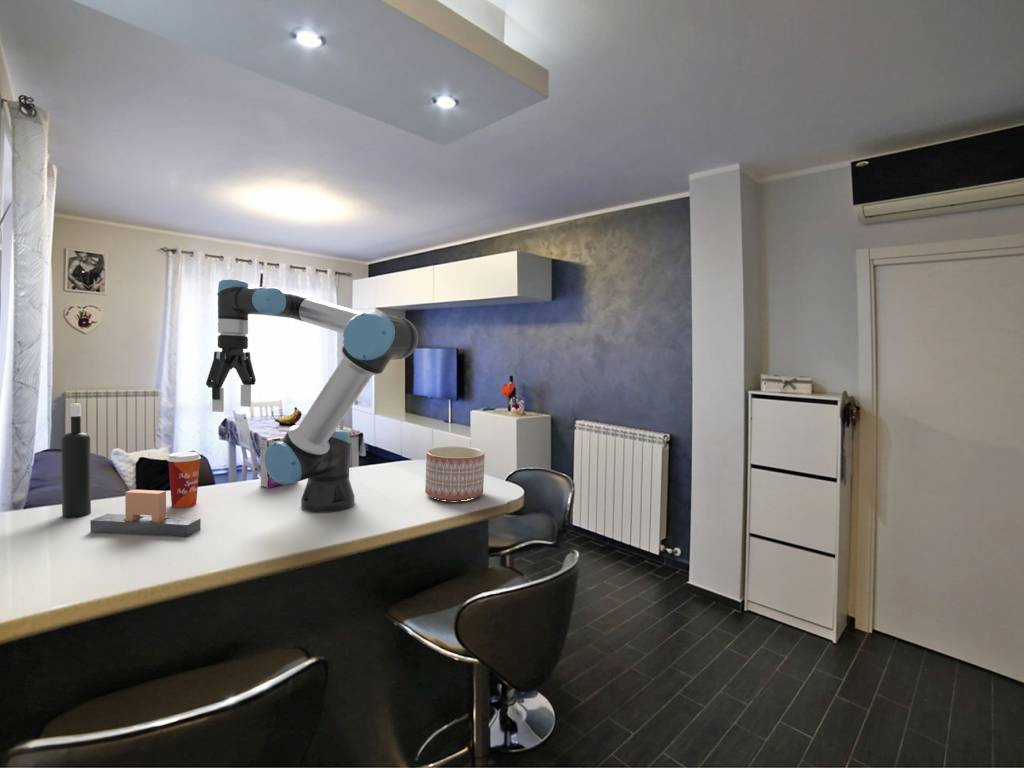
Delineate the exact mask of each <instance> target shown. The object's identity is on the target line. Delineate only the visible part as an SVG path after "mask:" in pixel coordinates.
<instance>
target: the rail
mask: <svg viewBox="0 0 1024 768" xmlns="http://www.w3.org/2000/svg"><path fill="white" fill-rule="evenodd" d="M201 521H202V520H201V517H183V516H166V520H165V521H163V522H160V523H158V522H152V515H140V519H138V520H136V521H125V514H121V513H120V514H119V513H106V514H103V515H101V516H99V517H95V518H92V519H90V533H99V534H115V535H116V534H118V535H134V536H135V535H137V536H138V535H140V536H160V537H175V538H176V537H180V538H188V537H190V536H192V535H194V534H195V533H197V532H199V531H201V524H202V523H201Z"/></svg>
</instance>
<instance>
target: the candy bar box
mask: <svg viewBox="0 0 1024 768" xmlns="http://www.w3.org/2000/svg"><path fill="white" fill-rule="evenodd" d="M285 435H286V434H283V435H277V436H271V437H270V436H269V437H264V438H263V437H261V438H260V439H259V441H260V446H259V447H260V448H259V449H260V454H259V455H260V486H261V487H262V488H263V487H264V488H267V489H271V488H276V487H280V486H285V485H286V484H280V483H278V482H276V481H275V480H273V479H272V478H271V477H270V475H269V474H268V472H267V470H266V465H265V462H264V456H265V452H266V449H267V448H268V446H269V445H271V444H272V443H274V442H277V441H281V440H283V438H284V437H285Z"/></svg>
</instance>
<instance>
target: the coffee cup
mask: <svg viewBox="0 0 1024 768" xmlns="http://www.w3.org/2000/svg"><path fill="white" fill-rule="evenodd" d="M201 459H202V457H201V455H200V453H199V452H198V451H197V452H196V451H180V452H172V453H170V454H169V455H168V458H167V459H166V461H167V462H168V473H169V487H170V488H169V489H170V502H171V503H170V504H171V507H172V508H174V509H184V508H190V507H194V506H196V504H197V500H198V499H197V498H198V488H199V487H198V486H199V475H200V473H199V471H200V461H201Z"/></svg>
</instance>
